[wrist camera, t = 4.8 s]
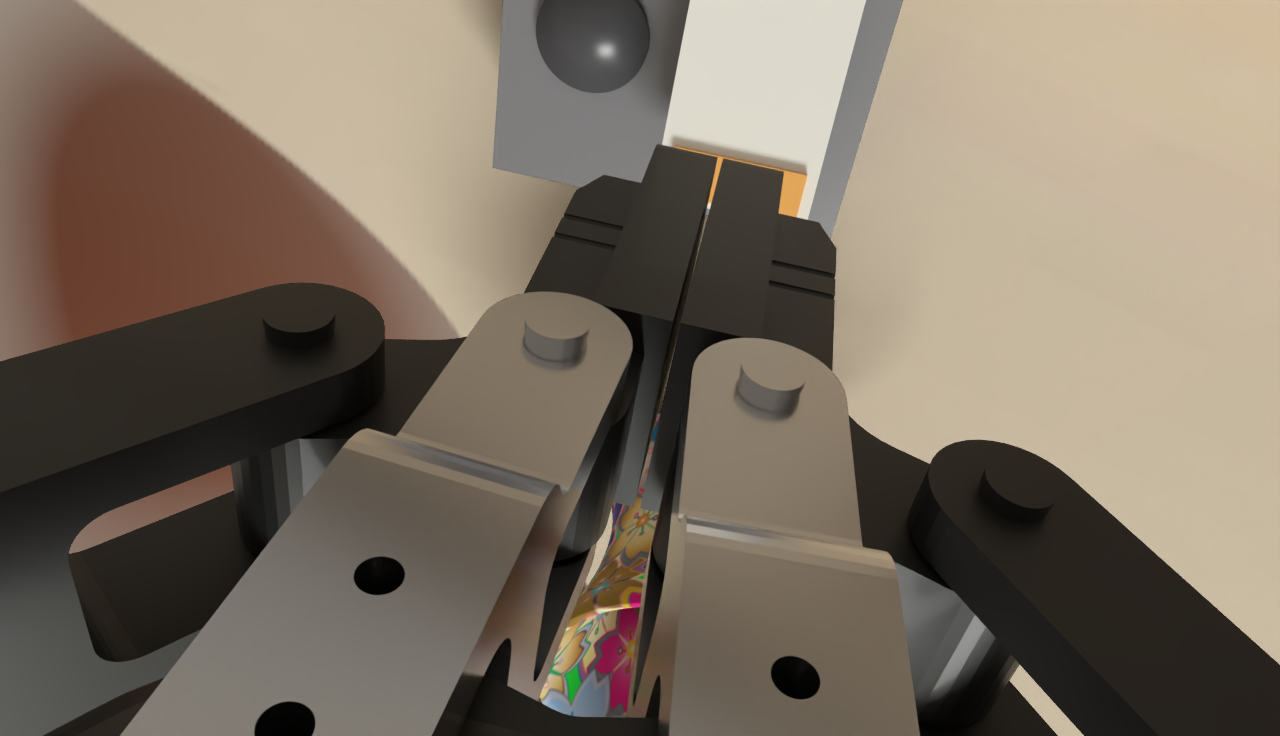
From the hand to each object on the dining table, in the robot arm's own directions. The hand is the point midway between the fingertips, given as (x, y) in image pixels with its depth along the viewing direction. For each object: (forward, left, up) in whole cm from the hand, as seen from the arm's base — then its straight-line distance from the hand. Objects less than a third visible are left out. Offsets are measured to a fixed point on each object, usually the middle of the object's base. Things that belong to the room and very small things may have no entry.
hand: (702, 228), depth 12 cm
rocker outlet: (+3, 0, -14) cm, 14 cm away
